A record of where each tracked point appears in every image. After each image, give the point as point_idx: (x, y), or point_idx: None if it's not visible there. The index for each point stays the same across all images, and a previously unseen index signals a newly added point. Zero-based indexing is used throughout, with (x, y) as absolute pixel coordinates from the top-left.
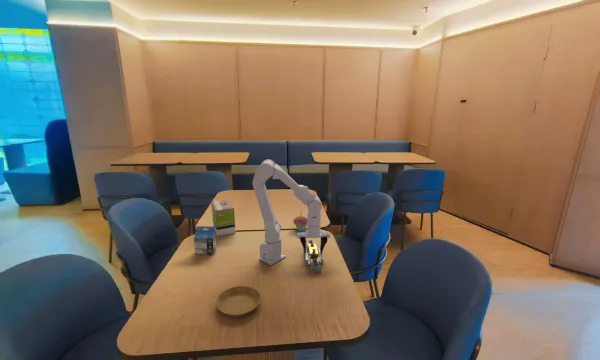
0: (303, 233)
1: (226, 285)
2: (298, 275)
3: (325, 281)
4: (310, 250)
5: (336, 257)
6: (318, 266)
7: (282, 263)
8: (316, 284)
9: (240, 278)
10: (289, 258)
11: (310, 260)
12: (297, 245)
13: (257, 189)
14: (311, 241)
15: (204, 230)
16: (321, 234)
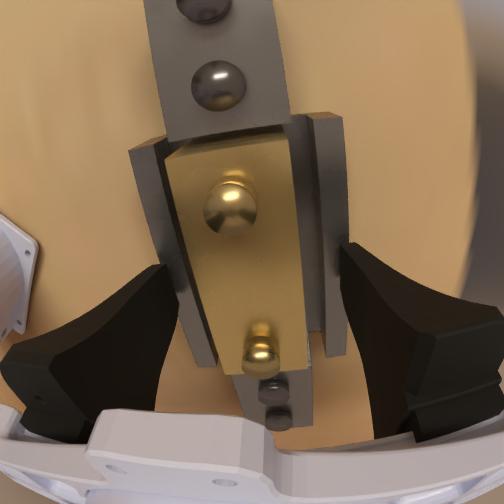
0: (52, 494)
1: (3, 401)
2: (184, 405)
3: (321, 427)
4: (220, 328)
5: (463, 214)
6: (294, 425)
7: (59, 314)
8: (278, 440)
9: (4, 385)
10: (68, 257)
11: (236, 389)
12: (78, 16)
13: None
14: (214, 17)
15: None
16: (406, 501)
